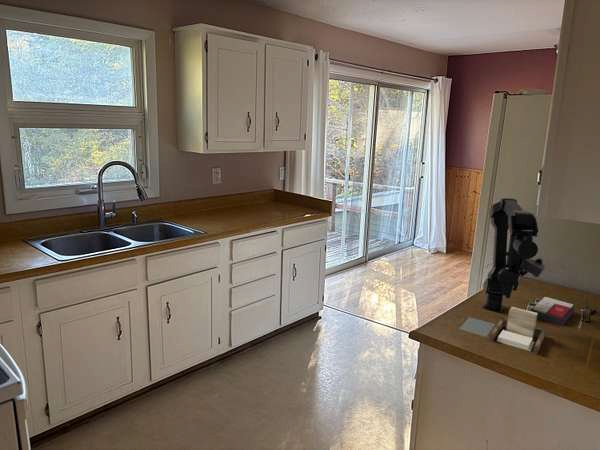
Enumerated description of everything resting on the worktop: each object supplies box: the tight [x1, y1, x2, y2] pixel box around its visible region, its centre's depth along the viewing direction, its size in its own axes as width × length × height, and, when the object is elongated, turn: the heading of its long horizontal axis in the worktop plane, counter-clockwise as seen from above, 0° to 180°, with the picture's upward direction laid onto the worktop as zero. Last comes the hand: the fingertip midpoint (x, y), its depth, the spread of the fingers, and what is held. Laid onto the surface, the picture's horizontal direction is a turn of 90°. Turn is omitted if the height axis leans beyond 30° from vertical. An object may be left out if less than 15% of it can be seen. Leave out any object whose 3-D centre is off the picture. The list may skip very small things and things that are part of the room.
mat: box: [459, 316, 496, 338], centre depth 159 cm, size 12×9×1 cm
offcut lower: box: [497, 341, 535, 352], centre depth 149 cm, size 7×10×1 cm
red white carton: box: [530, 296, 576, 326], centre depth 172 cm, size 11×4×15 cm
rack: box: [489, 318, 547, 356], centre depth 151 cm, size 15×14×3 cm
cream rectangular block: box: [505, 306, 538, 339], centre depth 153 cm, size 4×8×9 cm, turn 54°
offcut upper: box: [496, 329, 534, 351], centre depth 149 cm, size 6×9×1 cm
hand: (511, 294), depth 155 cm, fingers open, 9 cm apart
